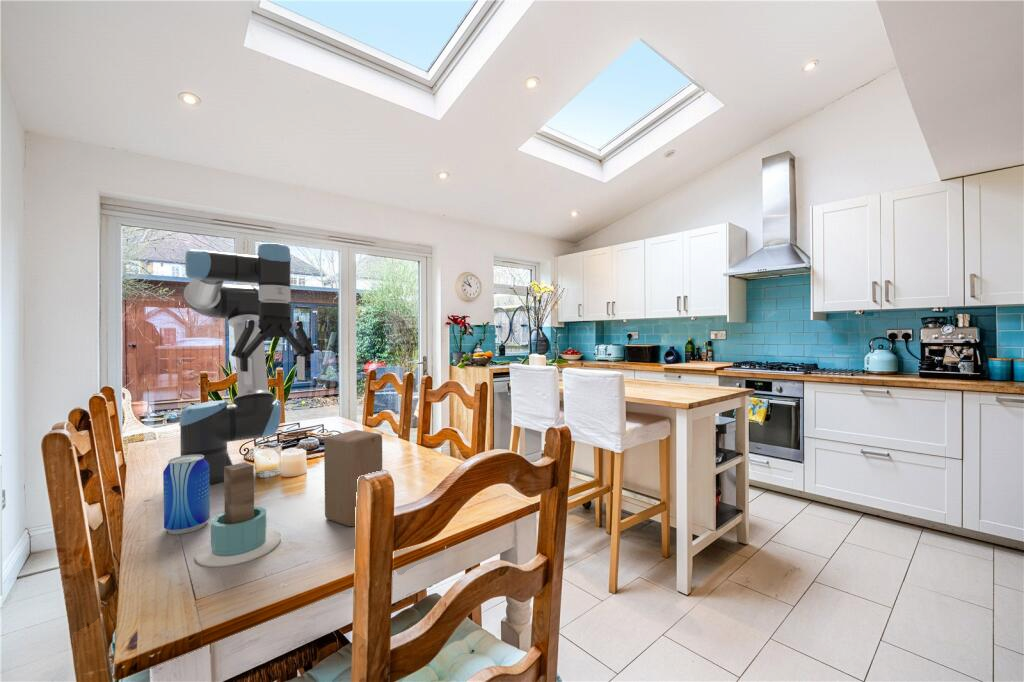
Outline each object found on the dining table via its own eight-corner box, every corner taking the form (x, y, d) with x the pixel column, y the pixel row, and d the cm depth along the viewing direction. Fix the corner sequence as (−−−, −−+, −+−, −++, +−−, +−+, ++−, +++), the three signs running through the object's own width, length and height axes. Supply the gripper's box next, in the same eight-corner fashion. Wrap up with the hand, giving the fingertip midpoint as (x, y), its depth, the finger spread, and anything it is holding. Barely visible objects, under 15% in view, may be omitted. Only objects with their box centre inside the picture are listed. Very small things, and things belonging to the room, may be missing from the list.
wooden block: (384, 513, 106) (383, 433, 106) (350, 529, 97) (350, 442, 97) (357, 505, 111) (356, 428, 111) (323, 519, 102) (322, 436, 102)
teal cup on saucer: (183, 551, 87) (182, 519, 87) (261, 524, 99) (260, 496, 99) (212, 575, 79) (212, 540, 78) (294, 543, 91) (293, 512, 91)
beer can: (172, 522, 101) (171, 455, 100) (214, 517, 104) (213, 451, 103) (157, 538, 93) (156, 465, 93) (203, 532, 96) (202, 461, 96)
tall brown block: (224, 538, 88) (224, 466, 88) (245, 531, 92) (245, 462, 91) (233, 544, 86) (232, 470, 86) (254, 536, 89) (253, 465, 89)
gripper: (228, 298, 101) (229, 387, 102) (326, 304, 121) (327, 378, 122) (215, 300, 106) (216, 385, 106) (312, 305, 126) (313, 377, 126)
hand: (275, 382), depth 114 cm, fingers open, 13 cm apart
